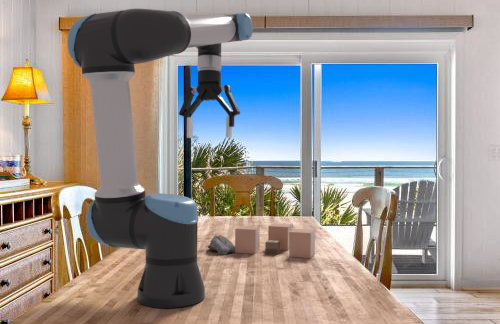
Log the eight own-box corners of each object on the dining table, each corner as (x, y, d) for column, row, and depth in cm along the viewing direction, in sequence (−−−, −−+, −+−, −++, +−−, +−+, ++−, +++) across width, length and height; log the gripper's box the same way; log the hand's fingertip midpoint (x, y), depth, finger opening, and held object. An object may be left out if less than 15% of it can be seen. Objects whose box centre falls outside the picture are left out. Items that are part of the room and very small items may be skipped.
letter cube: (276, 255, 155) (277, 242, 155) (265, 254, 156) (265, 241, 156) (280, 252, 158) (280, 240, 158) (269, 251, 160) (269, 239, 160)
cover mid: (292, 246, 169) (292, 224, 169) (287, 250, 162) (287, 227, 162) (273, 245, 171) (273, 223, 171) (268, 248, 165) (268, 226, 164)
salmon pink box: (310, 258, 150) (310, 233, 150) (289, 256, 152) (289, 231, 152) (314, 253, 156) (314, 229, 156) (294, 252, 159) (294, 228, 158)
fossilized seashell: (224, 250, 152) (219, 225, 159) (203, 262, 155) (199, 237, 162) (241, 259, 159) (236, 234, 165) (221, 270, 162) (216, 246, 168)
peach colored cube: (255, 253, 156) (255, 229, 156) (235, 252, 158) (235, 228, 158) (259, 249, 163) (259, 226, 163) (239, 248, 164) (240, 225, 164)
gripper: (250, 71, 149) (249, 137, 149) (179, 75, 157) (179, 138, 157) (242, 66, 142) (241, 136, 142) (168, 71, 150) (168, 137, 150)
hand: (208, 137), depth 150 cm, fingers open, 13 cm apart
